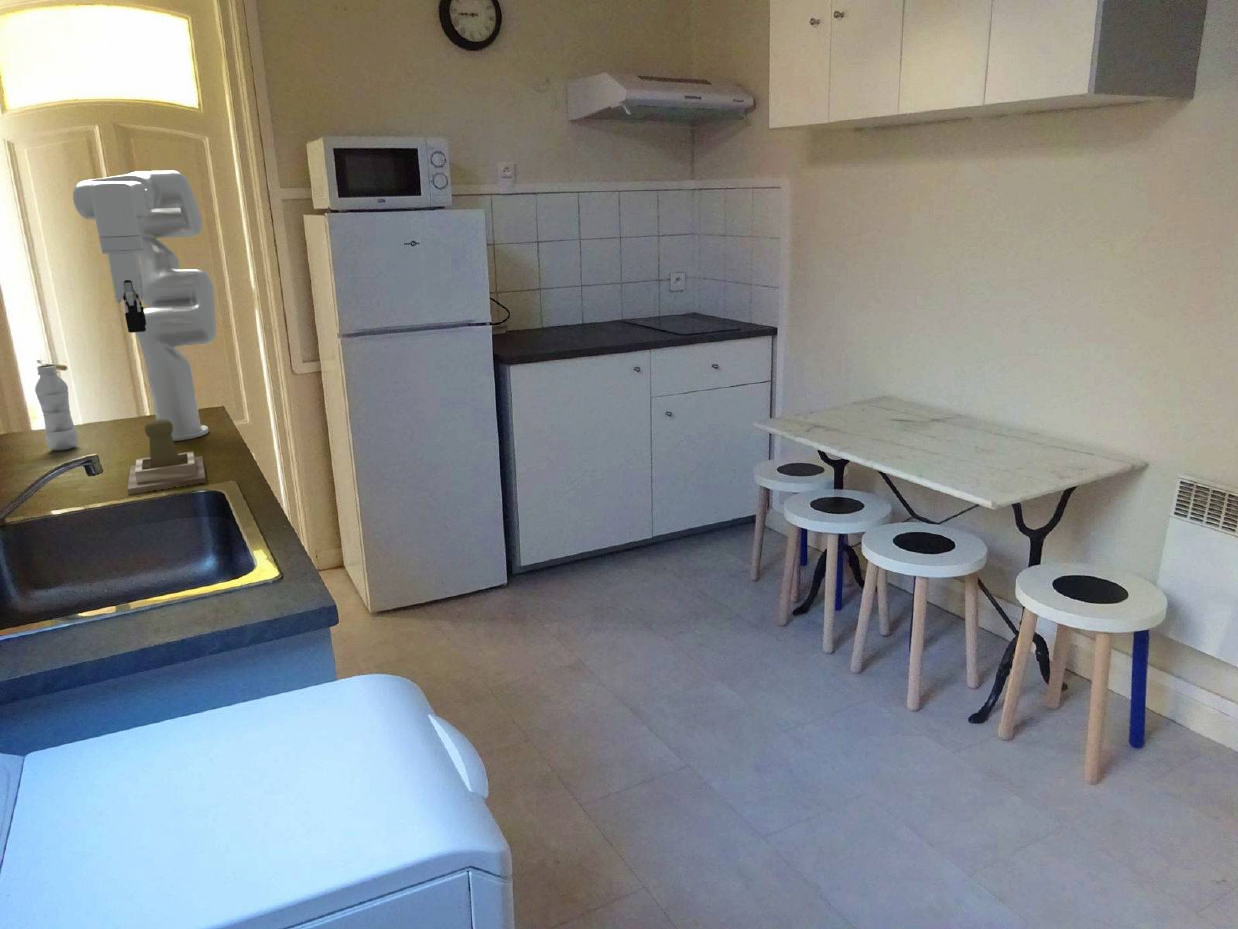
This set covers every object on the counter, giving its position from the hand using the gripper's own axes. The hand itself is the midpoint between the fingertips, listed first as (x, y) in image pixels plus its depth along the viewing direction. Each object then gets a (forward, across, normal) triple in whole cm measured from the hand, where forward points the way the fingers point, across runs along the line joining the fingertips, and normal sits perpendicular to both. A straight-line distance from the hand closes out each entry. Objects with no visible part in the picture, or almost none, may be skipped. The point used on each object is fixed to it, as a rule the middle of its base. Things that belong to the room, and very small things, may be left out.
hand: (137, 328), depth 184 cm
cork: (+29, +12, +1) cm, 31 cm away
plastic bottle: (+30, -27, -21) cm, 46 cm away
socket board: (+30, +12, +1) cm, 32 cm away
